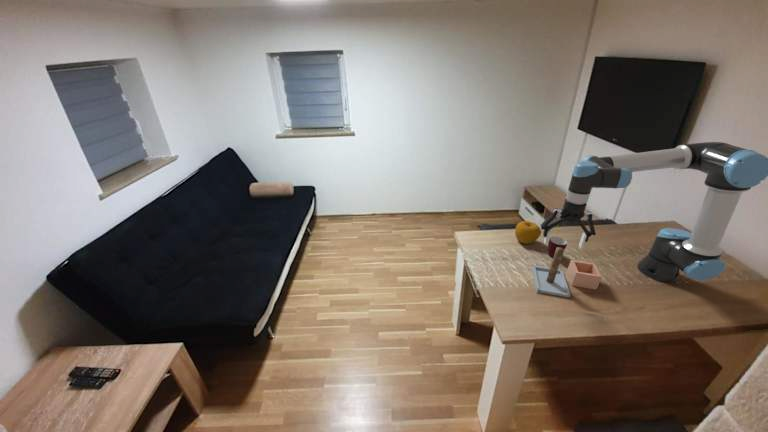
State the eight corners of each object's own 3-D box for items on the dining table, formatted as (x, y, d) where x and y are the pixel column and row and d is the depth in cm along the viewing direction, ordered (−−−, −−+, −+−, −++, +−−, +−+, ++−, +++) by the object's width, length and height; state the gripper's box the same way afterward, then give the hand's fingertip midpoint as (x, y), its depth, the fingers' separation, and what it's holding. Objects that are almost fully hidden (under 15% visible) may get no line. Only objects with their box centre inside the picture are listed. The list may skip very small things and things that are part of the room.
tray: (531, 268, 149) (532, 265, 148) (560, 273, 145) (562, 269, 144) (536, 293, 134) (537, 289, 133) (569, 299, 130) (570, 295, 129)
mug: (568, 263, 152) (573, 247, 147) (552, 264, 152) (557, 248, 147) (556, 251, 161) (561, 236, 156) (541, 252, 161) (546, 236, 156)
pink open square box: (589, 277, 143) (594, 263, 139) (595, 290, 135) (601, 276, 131) (566, 273, 146) (570, 259, 142) (570, 286, 137) (576, 272, 133)
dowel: (552, 279, 140) (563, 247, 131) (554, 284, 137) (564, 251, 129) (545, 278, 141) (555, 246, 132) (546, 282, 138) (557, 250, 130)
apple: (519, 232, 179) (523, 215, 173) (541, 241, 170) (546, 224, 165) (508, 240, 171) (512, 223, 166) (531, 250, 163) (536, 232, 157)
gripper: (609, 199, 119) (593, 244, 129) (540, 193, 126) (530, 236, 136) (615, 208, 113) (598, 254, 123) (543, 201, 120) (532, 245, 130)
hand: (562, 245), depth 129 cm, fingers open, 13 cm apart
